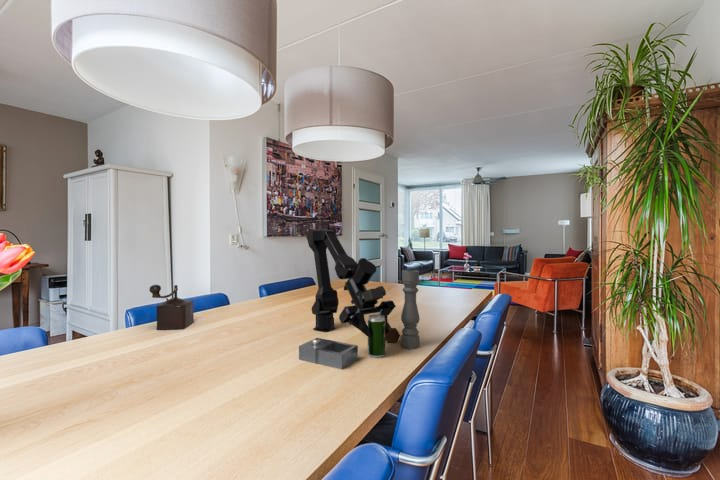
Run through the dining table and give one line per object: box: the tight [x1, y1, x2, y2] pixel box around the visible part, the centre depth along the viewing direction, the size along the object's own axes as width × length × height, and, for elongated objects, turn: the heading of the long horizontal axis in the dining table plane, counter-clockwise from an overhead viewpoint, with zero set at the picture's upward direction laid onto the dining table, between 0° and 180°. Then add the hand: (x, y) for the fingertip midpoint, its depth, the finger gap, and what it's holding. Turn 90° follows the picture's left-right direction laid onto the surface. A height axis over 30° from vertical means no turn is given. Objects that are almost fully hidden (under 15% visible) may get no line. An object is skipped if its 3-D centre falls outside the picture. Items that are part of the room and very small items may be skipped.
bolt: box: [385, 322, 401, 345], centre depth 124 cm, size 6×5×15 cm
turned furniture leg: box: [400, 269, 420, 350], centre depth 113 cm, size 6×6×25 cm
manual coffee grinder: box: [149, 284, 195, 331], centre depth 134 cm, size 16×11×18 cm
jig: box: [298, 337, 359, 370], centre depth 102 cm, size 15×9×5 cm, turn 61°
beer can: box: [367, 313, 386, 359], centre depth 105 cm, size 5×5×12 cm
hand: (379, 334), depth 104 cm, fingers open, 6 cm apart
